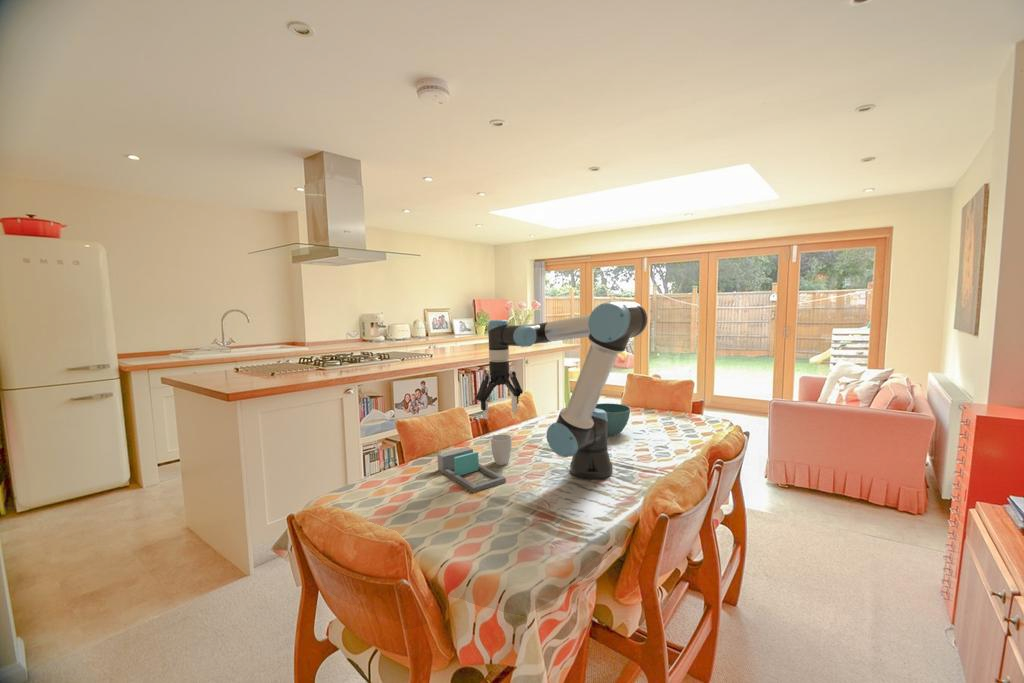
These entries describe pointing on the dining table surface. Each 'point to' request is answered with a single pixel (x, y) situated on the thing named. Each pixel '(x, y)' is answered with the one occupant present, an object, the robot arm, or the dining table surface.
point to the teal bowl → (615, 417)
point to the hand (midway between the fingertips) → (500, 415)
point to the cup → (501, 448)
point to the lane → (448, 465)
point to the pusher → (466, 463)
